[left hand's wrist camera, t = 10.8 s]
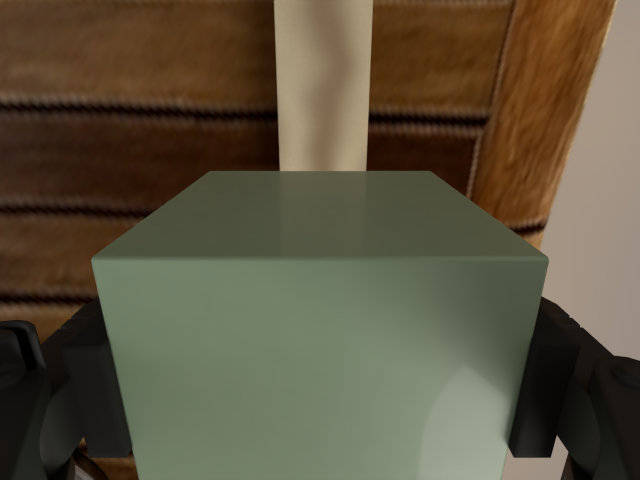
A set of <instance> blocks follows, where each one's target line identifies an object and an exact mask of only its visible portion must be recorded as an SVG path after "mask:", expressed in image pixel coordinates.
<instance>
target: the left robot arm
mask: <svg viewBox="0 0 640 480" xmlns="http://www.w3.org/2000/svg"><path fill="white" fill-rule="evenodd" d="M556 436H558V437H559V438H560V440H561V441H562V443H563V444H564V446H565V447H566V449H567V450H568V456H567V459H566V463H565V466H564V470H563V473H562V477H561V480H640V361H639V360H635V359H632V358H628V357H621V356H614V355H612V354H611V353H610V352H609V351H608V350H607V349H606V348H605V347H604V346H603V345H601V344H600V343H599V342H598V341H597V340H596V339H595V338H594V337H593V336H591V335H590V334H589V333H588V332H587V331H586V330H585V329H584V328H580V325H579V324H578V323H577V322H576V321H575V320H574V319H573V318H570V317H569V315H568V314H567V313H566V312H565V311H564V310H563V309H561V308H560V307H559V306H558V305H557V304H555V303H553V302H551V301H550V300H547V299H546V298H544V297H542V296H541V300H540V304H539V309H538V313H537V318H536V323H535V327H534V332H533V336H532V339H531V344H530V349H529V353H528V358H527V362H526V367H525V372H524V376H523V381H522V385H521V390H520V395H519V399H518V404H517V408H516V413H515V418H514V422H513V427H512V431H511V436H510V440H509V445H508V447H509V449H510V451H511V453H512V455H513V457H514V458H550V457H551V454H552V451H553V447H554V443H555V439H556ZM83 437H84V438H85V442H86V446H87V449H88V453H89V457H90V458H126V457H127V455H128V453H129V452H130V450H131V448H132V444H131V439H130V435H129V430H128V425H127V421H126V416H125V412H124V407H123V403H122V398H121V393H120V389H119V384H118V380H117V375H116V370H115V366H114V361H113V357H112V352H111V347H110V343H109V338H108V335H107V330H106V326H105V321H104V317H103V312H102V308H101V303H100V298H97V299H96V300H94V301H92V302H90V303H88V304H86V305H84V306H83V307H82V308H81V309H80V310H78V311H77V312H76V313H75V314H74V315H73V316H72V317H71V319H69V320H67V321H66V322H65V323H64V324H63V325H62V326H61V329H58V330H56V331H55V332H54V333H53V334H52V335H51V336H50V337H49V338H48V339H47V340H45V341H44V342H43V343H42V344H41V345H40V342H39V338H38V335H37V331H36V328H35V325H34V324H32V323H30V322H29V321H22V320H11V321H1V322H0V480H107V479H106V477H105V476H104V475H103V473H102V472H101V471H100V470H99V469H98V468H97V467H96V466H95V465H94V464H92V463H91V462H90V461H89V460H87V459H86V458H84V457H83V456H81V455H79V454H77V453H76V452H74V450H75V449H76V447H77V446H78V444H79V443H80V441H81V440H82V438H83Z"/></svg>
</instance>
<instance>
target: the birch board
mask: <svg viewBox="0 0 640 480" xmlns="http://www.w3.org/2000/svg"><path fill="white" fill-rule="evenodd" d="M372 12H373V0H274V19H275V47H276V75H277V103H278V131H279V159H280V171H366V160H367V135H368V111H369V86H370V61H371V37H372Z"/></svg>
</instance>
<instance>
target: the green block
mask: <svg viewBox="0 0 640 480" xmlns="http://www.w3.org/2000/svg"><path fill="white" fill-rule="evenodd" d="M91 262H92V266H93V271H94V275H95V280H96V285H97V289H98V294H99V298H100V303H101V308H102V312H103V317H104V321H105V326H106V330H107V335H108V338H109V343H110V347H111V352H112V357H113V361H114V366H115V370H116V375H117V380H118V384H119V389H120V393H121V398H122V403H123V407H124V412H125V416H126V421H127V425H128V430H129V435H130V439H131V444H132V450H133V454H134V459H135V463H136V468H137V473H138V477H139V480H501V478H502V474H503V469H504V465H505V460H506V455H507V451H508V445H509V440H510V436H511V431H512V427H513V422H514V418H515V413H516V408H517V404H518V399H519V395H520V390H521V385H522V381H523V376H524V372H525V367H526V362H527V358H528V353H529V349H530V344H531V339H532V336H533V332H534V327H535V323H536V318H537V313H538V309H539V304H540V300H541V295H542V290H543V285H544V281H545V276H546V272H547V267H548V263H549V259H548V257H547V256H546V255H544V254H543V253H542V252H540V251H539V250H537V249H536V248H535V247H533V246H532V245H531V244H529V243H528V242H526V241H525V240H524V239H522V238H521V237H520V236H518V235H517V234H516V233H514V232H513V231H511V230H510V229H509V228H507V227H506V226H505V225H503V224H502V223H500V222H499V221H498V220H496V219H495V218H494V217H492V216H491V215H490V214H488V213H487V212H485V211H484V210H483V209H481V208H480V207H479V206H477V205H476V204H474V203H473V202H472V201H470V200H469V199H468V198H466V197H465V196H464V195H462V194H461V193H459V192H458V191H457V190H455V189H454V188H453V187H451V186H450V185H448V184H447V183H446V182H444V181H443V180H442V179H440V178H439V177H437V176H436V175H435V174H433V173H432V172H430V171H210V172H208V173H207V174H205V175H204V176H203V177H201V178H200V179H199V180H197V181H196V182H194V183H193V184H192V185H190V186H189V187H188V188H186V189H185V190H184V191H182V192H181V193H179V194H178V195H177V196H175V197H174V198H173V199H171V200H170V201H169V202H167V203H166V204H164V205H163V206H162V207H160V208H159V209H158V210H156V211H155V212H153V213H152V214H151V215H149V216H148V217H147V218H145V219H144V220H143V221H141V222H140V223H138V224H137V225H136V226H134V227H133V228H132V229H130V230H129V231H127V232H126V233H125V234H123V235H122V236H121V237H119V238H118V239H117V240H115V241H114V242H112V243H111V244H110V245H108V246H107V247H106V248H104V249H103V250H102V251H100V252H99V253H97V254H96V255H95V256H93V257H92V261H91Z"/></svg>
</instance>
